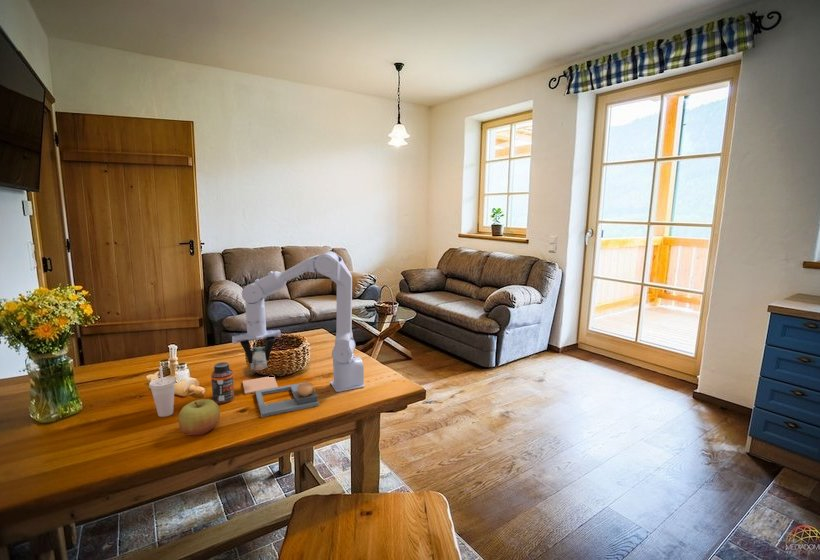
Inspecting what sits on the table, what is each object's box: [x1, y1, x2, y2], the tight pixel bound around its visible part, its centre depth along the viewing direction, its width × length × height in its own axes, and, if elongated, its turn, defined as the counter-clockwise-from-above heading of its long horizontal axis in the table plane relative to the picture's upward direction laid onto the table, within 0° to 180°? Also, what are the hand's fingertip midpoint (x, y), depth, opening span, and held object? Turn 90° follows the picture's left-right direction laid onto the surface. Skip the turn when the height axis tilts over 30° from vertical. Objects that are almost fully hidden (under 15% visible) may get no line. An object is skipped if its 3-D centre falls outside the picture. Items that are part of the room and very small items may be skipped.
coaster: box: [242, 376, 279, 395], centre depth 133 cm, size 10×10×1 cm
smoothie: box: [148, 366, 177, 418], centre depth 113 cm, size 6×6×14 cm
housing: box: [254, 381, 320, 418], centre depth 123 cm, size 16×16×3 cm
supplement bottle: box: [210, 362, 235, 405], centre depth 122 cm, size 6×6×11 cm
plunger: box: [297, 382, 314, 397], centre depth 121 cm, size 4×4×4 cm
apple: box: [177, 398, 221, 436], centre depth 105 cm, size 10×10×8 cm
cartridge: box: [250, 346, 268, 371], centre depth 131 cm, size 5×5×7 cm
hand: (258, 361), depth 131 cm, fingers closed on cartridge, 5 cm apart
